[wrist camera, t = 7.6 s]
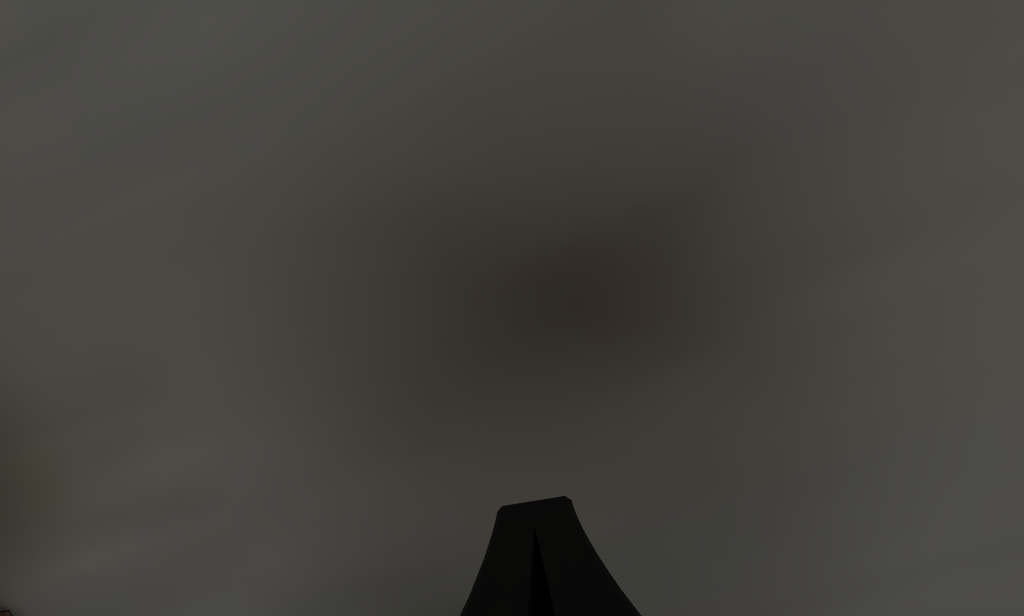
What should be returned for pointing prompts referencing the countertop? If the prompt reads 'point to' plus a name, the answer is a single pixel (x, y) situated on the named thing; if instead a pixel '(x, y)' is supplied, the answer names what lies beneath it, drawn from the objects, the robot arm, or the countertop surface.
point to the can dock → (5, 613)
